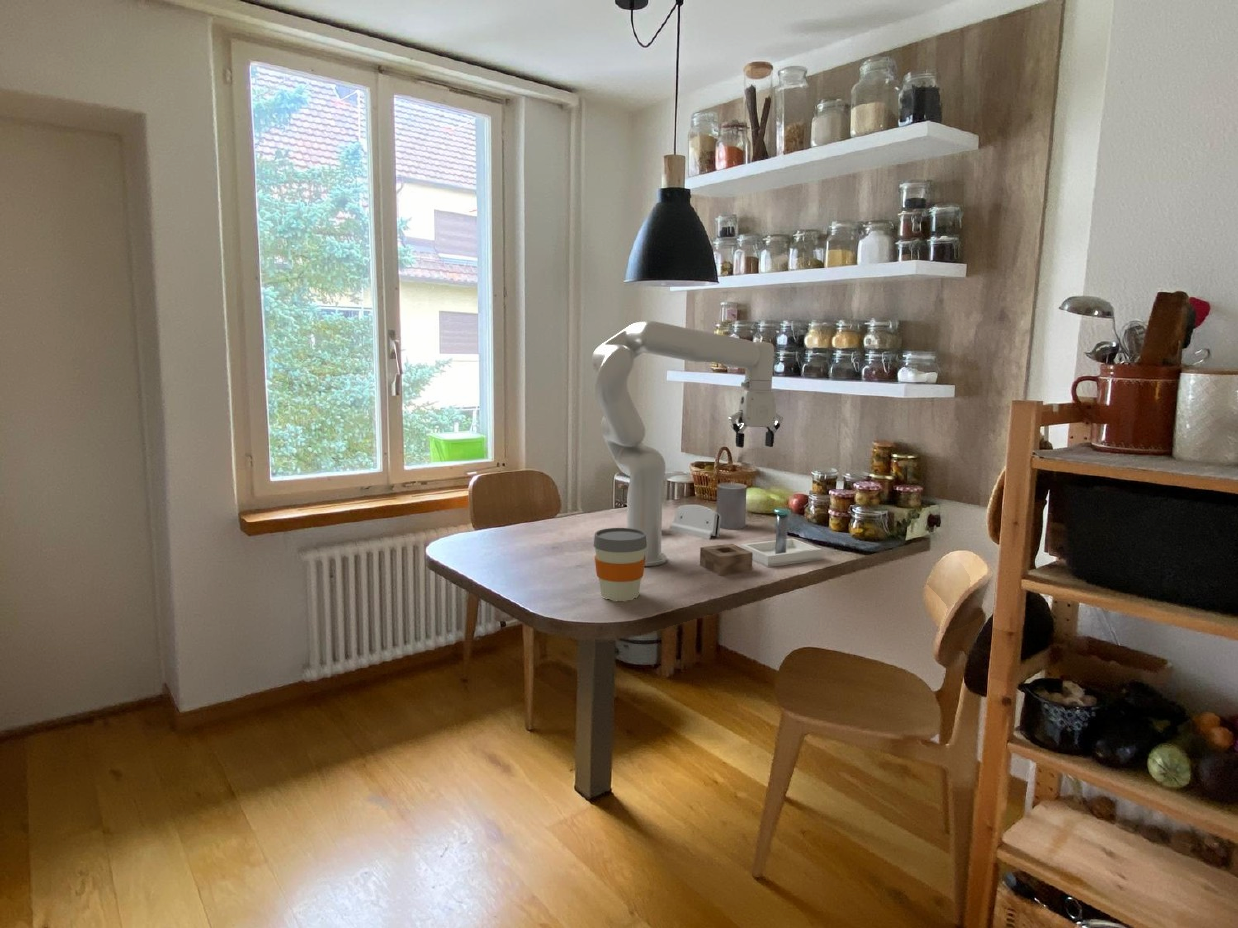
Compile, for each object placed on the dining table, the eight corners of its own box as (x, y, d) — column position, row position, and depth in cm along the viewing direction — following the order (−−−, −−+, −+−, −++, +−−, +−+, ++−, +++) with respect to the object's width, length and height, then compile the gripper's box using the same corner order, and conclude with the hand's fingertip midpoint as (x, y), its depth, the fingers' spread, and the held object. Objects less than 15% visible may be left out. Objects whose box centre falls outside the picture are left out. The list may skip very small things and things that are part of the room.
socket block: (719, 575, 193) (719, 556, 193) (699, 565, 202) (700, 547, 202) (751, 571, 197) (752, 552, 197) (731, 561, 206) (731, 543, 206)
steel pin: (778, 557, 207) (780, 512, 205) (769, 553, 212) (770, 509, 210) (792, 555, 209) (794, 511, 207) (782, 551, 213) (784, 507, 211)
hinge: (667, 530, 241) (675, 500, 241) (676, 532, 244) (683, 502, 245) (709, 539, 229) (717, 507, 230) (718, 542, 233) (725, 510, 234)
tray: (767, 566, 201) (767, 556, 201) (740, 554, 213) (741, 544, 212) (821, 559, 208) (821, 549, 208) (792, 548, 220) (793, 538, 220)
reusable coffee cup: (617, 583, 186) (617, 524, 184) (656, 594, 178) (657, 533, 176) (582, 595, 177) (582, 534, 175) (622, 608, 169) (622, 543, 167)
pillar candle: (712, 522, 251) (714, 478, 249) (741, 522, 252) (742, 478, 250) (719, 530, 242) (720, 484, 239) (749, 529, 243) (750, 484, 240)
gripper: (738, 386, 204) (734, 449, 207) (791, 387, 210) (787, 447, 213) (724, 385, 211) (721, 445, 213) (776, 386, 217) (773, 444, 220)
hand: (754, 446), depth 213 cm, fingers open, 9 cm apart
